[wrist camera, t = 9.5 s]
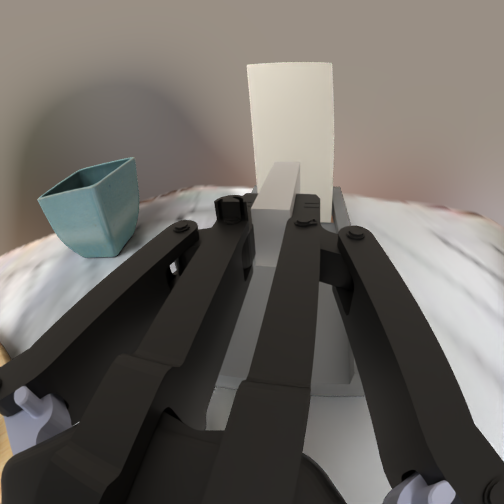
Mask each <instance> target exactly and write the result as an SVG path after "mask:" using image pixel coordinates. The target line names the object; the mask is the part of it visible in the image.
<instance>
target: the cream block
mask: <svg viewBox="0 0 504 504" xmlns="http://www.w3.org/2000/svg"><path fill="white" fill-rule="evenodd" d="M247 75H248V86H249V97H250V108H251V119H252V132H253V143H254V156H255V168H256V180H257V193H259V191H260V189H261V188H262V186H263V184H264V182H265V180H266V178H267V176H268V174H269V172H270V170H271V168H272V166H273V164H274V162H300V194H316V195H317V196H318V197H319V198H320V222H327V223H331V213H332V195H333V169H334V168H333V167H334V99H333V73H332V63H318V62H284V63H264V64H251V65H247Z"/></svg>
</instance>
